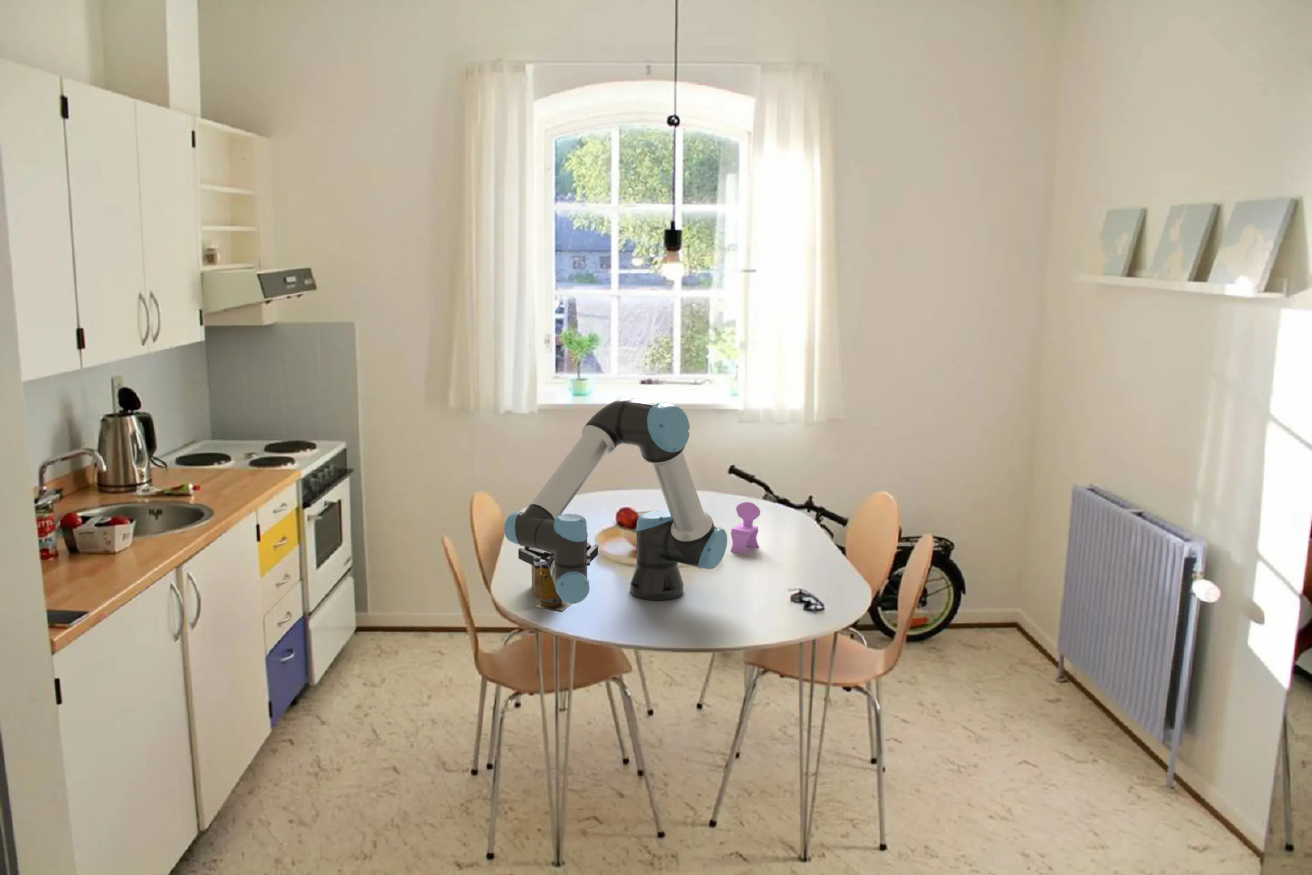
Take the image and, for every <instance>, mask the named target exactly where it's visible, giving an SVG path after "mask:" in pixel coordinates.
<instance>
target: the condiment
mask: <svg viewBox="0 0 1312 875" xmlns="http://www.w3.org/2000/svg"><path fill="white" fill-rule="evenodd" d="M539 601H540V602H538V603H537V604H536V605H534V607H535V608H541V609H545V610H546V609H547V610H555V611H564V610H566V609H567V608H568V607H569V606H571V604H570V603H566V602H564V601H563V600H562V599H561V598H560V597H559V595H558V594H557V592H556V590H555V585H554V582H553V579H552V576H551V574H550V571H549V568H548V567H547V566H546V565H541V572H540V597H539Z"/></svg>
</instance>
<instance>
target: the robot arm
mask: <svg viewBox="0 0 1312 875" xmlns="http://www.w3.org/2000/svg"><path fill="white" fill-rule="evenodd" d="M690 427H691V426H690V421H689V418H688V416H687V413H686V412H685V411H684V409H682V408H681V407H680V406H678V405H675V404H673V403H672V404H670V403H668V402H664V401H663V402H662V401H661V402H659V401H658V402H657V401H652V400H644V399H636V398H631V397H629V398H627V397H625V398H620V399H616V400H613V401H612V402H610V403H608V404H607V405H605V406H604V407H602V408H601V409H600V410H598V411H597V412H596V413H595V414H593V416H592V417H591V418H590V419H589V420H587V422H586V423H585V425H584V426H583V427H582V429H581V436H580V438H579V439H578V441H577V442H576V444H574V446H573V447H572V449H571V450H570V451H569V453H568V454H567V455H566V456H565V458H564V459H563V460H562V461H561V463H560V464H559V466H558V467H557V468H556V469H555V471H554V473H552V475H551V476H550V478H549V479H548V480H547V482H546V483H545V484H544V486H543V487H542V488H541V489H540V491H539V492H538V493H537V494H536V496H535V497H534V498H533V499H532V501H531V502H530V503H529V505H528V507H526V509H525V511H515V512H512V513H510V514H509V515H508V516H507V518H506V520H505V522H504V526H503V527H504V528H503V532H504V535H505V537H506V539H507V540H508V541H509V542H511V543H514V544H516V545H519V546H520V548H518V553H517V554H518V560H520V561H523V562H525V563H526V564H529V565H530V566H532V565H533V566H534V567H535V568H536V569H539V568H540V566H541V565H546V566H547V567H548V568H549V571H550V574H551V576H552V579H553V582H554V585H555V590H556V592H557V594H558V595H559V597H560V598H561V599H562V600H563V601H564V602H566V603H570V605H575V604H578V603H581V602H583V601H584V600H585V599H586V598H587V597H588V595H589V593H590V581H589V578H588V566H591V562H593V560H595V559H596V557H598V555H599V545H598V544H594V545H592V544H590V542H588V537H589V534H588V526H587V519H586V518H585V517H584V516H583V515H581V514H577V513H575V514H573V513H564V511H565V510H566V509H567V508H568V506H569V505H570V503H571V502H572V501H573V499H574V498H575V497H576V495H577V494H578V492H579V491H580V490H581V489H582V487H583V485H585V483H586V482H587V480H588V479H589V477H590V476H591V475H592V473H594V471H595V469H596V468H597V467H598V465H599V464H600V463H601V461H602V460H604V458H605V456H606V454H611V453H613V452H614V451H615V450H616V448H617V447H618V446H620V445H623V444H626V445H630V446H637V447H638V449H639V451H640V454H641V456H642V458H643V460H644V461H645V462H648V463H650V464H651V466H652V468H653V472H654V474H655V477H656V479H657V481H658V485H659V488H660V491H661V493H662V496H663V498H664V501H665V504H666V506H667V509H663V510H662V509H659V510H652V511H651V510H650V511H648V512H645V513H642V514H641V515H639V516H638V518H637V520H636V529H635V531H636V566H635V569H634V572H633V575H632V578H631V581H630V583H629V584H630V588H629V589H630V593H631V595H632V596H634V597H636V598H639V599H641V600H648V601H667V600H668V601H669V600H674V599H676V598H680V597H681V596H682V595H683V593H684V590H685V589H684V588H685V586H684V585H685V584H684V581H683V577H682V575H681V571H680V569H679V564H682V565H687V566H690V567H693V568H698V569H705V570H712V569H715V568H717V566H719V564H720V563H721V562H722V560H723V559H724V556H725V553H726V550H727V546H728V534H727V532H726V530H725V529H724V528H722V527H720V526H719V527H717V526H715V523H714V520H713V519H712V516H711V515H710V514H709V513H708V512H706V511H704V509H703V507H702V504H701V501H700V496H699V495H698V492H697V489H696V486H695V484H694V481H693V478H692V475H691V472H690V469H689V466H688V463H687V460H686V458H685V455H684V451H685V448H686V445H687V443H688V441H689V438H690V432H689V431H690ZM522 547H523V548H522ZM678 563H679V564H678Z"/></svg>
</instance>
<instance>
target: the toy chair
mask: <svg viewBox="0 0 1312 875" xmlns="http://www.w3.org/2000/svg"><path fill="white" fill-rule="evenodd" d="M735 511H736V514H737V516H738V517H739V518H740V519H742V521H743V523H739V524H737V525H736V526H734V527H731V529H730V530H731V532H730V536H731V540H732V543H731V544H732V546H731V549H730V552H733V553H738V554H745V555H750V553H749V550H748V548H747V546H748V547H754V548H760V545H759V543H758V540H757V537H758V532H759V527H758V526H757V525H754V524H753V523H754V520H756V519H757V518H758V517H760V515H761V510H760V508H759V506H758V505H757V504H755V503H754V502H750V501H746V502H745V501H744V502H740V503H739V504H737V506H736V508H735Z"/></svg>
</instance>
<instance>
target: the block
mask: <svg viewBox="0 0 1312 875" xmlns="http://www.w3.org/2000/svg"><path fill="white" fill-rule="evenodd" d="M540 572H541V566H540V568H539V569H536V568H535V567H534V566H533V565H531V588H532V591H533V595H534V598H540Z"/></svg>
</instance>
